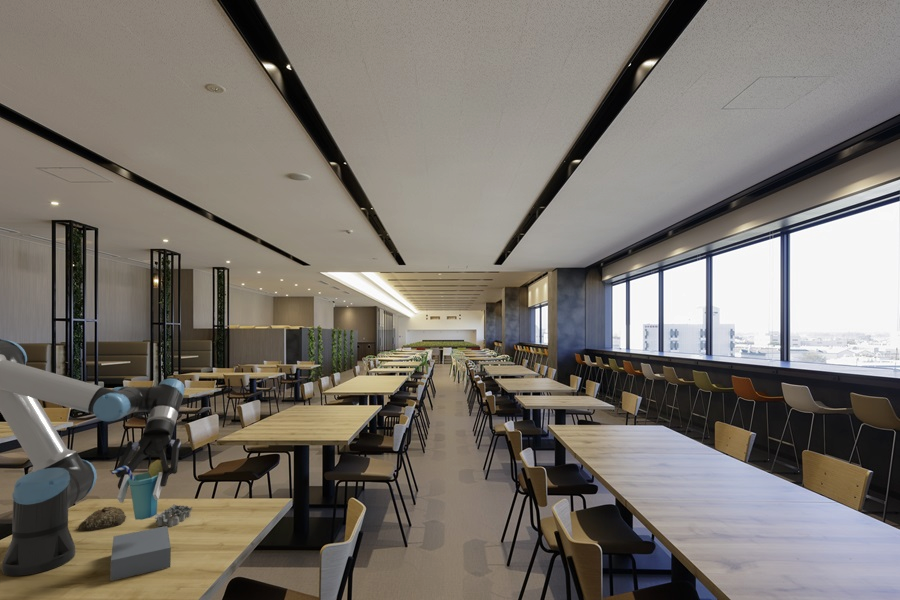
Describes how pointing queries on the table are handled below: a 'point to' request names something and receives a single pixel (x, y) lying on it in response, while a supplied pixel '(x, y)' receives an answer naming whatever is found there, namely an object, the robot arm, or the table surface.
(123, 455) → the robot arm
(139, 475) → the cup
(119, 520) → the bread roll
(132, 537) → the slate block
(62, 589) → the table surface
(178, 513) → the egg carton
